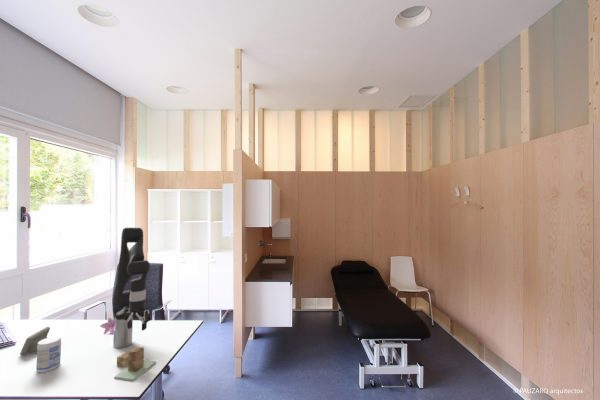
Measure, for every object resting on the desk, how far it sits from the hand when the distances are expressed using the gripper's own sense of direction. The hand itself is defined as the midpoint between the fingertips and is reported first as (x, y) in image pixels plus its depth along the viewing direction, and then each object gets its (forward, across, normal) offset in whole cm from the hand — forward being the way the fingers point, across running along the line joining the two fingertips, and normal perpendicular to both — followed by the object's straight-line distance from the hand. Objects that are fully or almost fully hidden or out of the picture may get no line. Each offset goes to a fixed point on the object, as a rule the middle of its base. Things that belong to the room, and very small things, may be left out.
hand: (136, 329), depth 143 cm
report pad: (+22, 0, 0) cm, 22 cm away
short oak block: (+22, -11, +4) cm, 25 cm away
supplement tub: (+22, -48, -7) cm, 53 cm away
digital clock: (+22, -76, +6) cm, 80 cm away
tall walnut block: (+21, 0, 0) cm, 21 cm away
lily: (+22, -52, +35) cm, 66 cm away
